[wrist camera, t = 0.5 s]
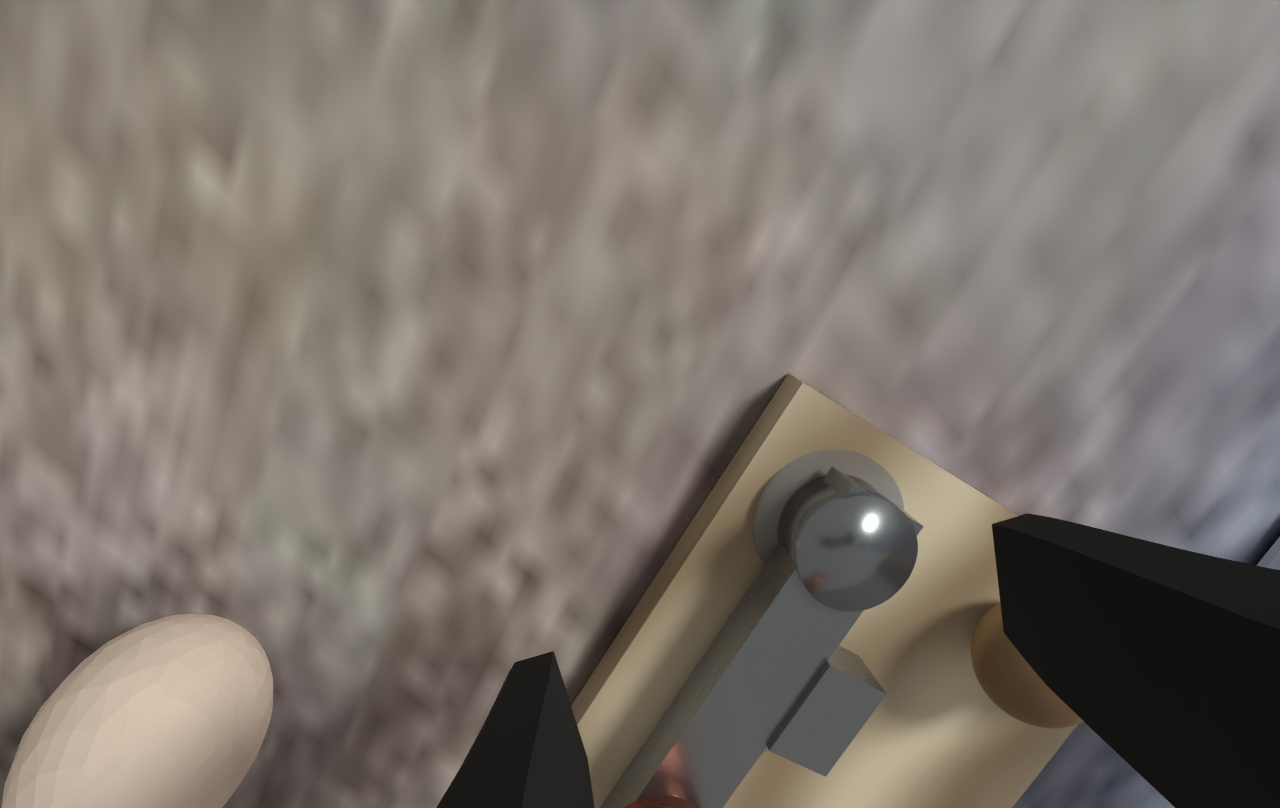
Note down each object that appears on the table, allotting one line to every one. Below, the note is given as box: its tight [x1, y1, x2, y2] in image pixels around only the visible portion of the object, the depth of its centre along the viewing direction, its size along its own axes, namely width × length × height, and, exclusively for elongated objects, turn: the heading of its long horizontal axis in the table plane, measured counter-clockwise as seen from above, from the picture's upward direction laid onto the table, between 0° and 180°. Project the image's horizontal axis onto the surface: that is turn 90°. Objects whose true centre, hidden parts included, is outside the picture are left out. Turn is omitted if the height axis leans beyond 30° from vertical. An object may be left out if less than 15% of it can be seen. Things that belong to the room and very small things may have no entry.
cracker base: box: [571, 374, 1084, 808], centre depth 21 cm, size 15×15×5 cm
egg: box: [1, 614, 273, 808], centre depth 17 cm, size 5×5×7 cm
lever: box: [600, 467, 924, 808], centre depth 19 cm, size 5×13×5 cm, turn 148°
